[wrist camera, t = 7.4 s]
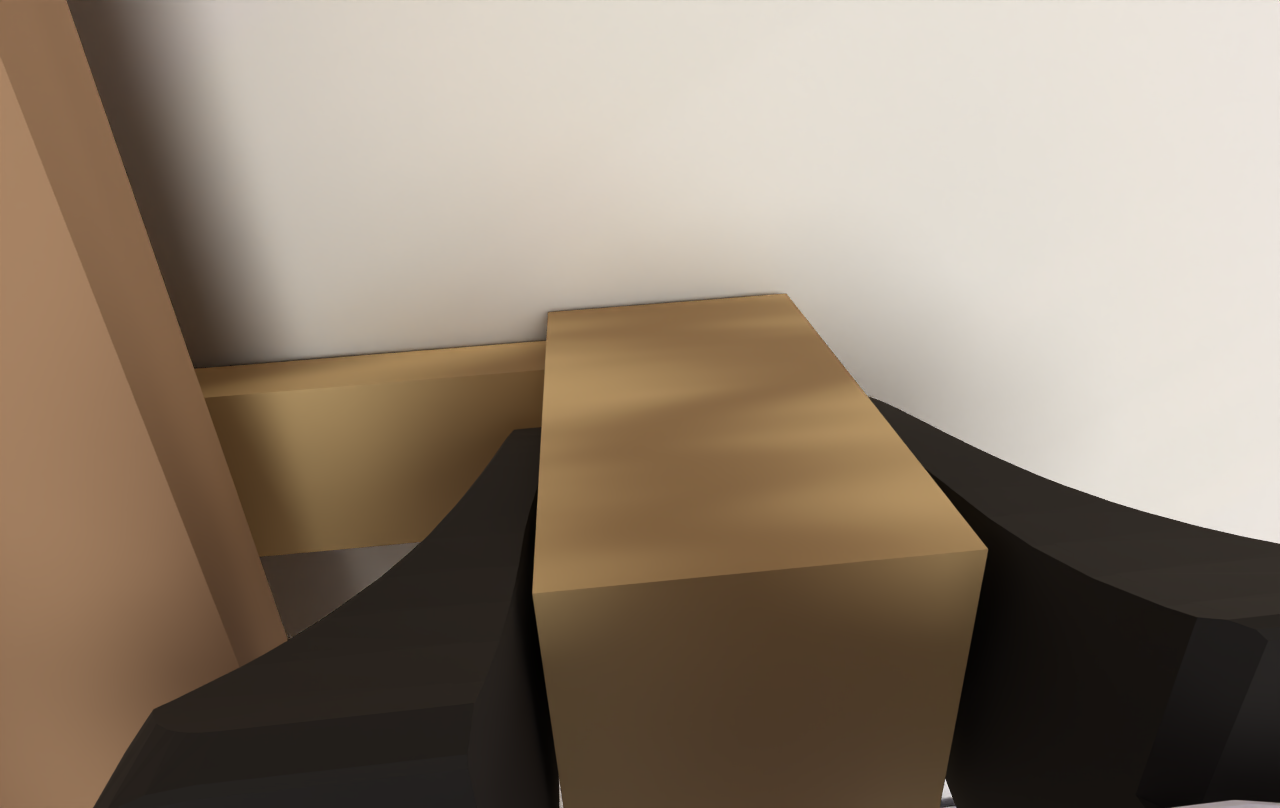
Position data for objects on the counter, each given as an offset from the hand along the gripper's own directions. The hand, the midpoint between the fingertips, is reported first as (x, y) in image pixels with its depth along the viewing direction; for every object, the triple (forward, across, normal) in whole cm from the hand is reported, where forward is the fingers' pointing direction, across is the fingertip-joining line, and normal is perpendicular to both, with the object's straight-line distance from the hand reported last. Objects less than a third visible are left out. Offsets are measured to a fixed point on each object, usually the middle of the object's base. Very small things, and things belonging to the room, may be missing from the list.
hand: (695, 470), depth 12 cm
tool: (+2, +7, 0) cm, 7 cm away
